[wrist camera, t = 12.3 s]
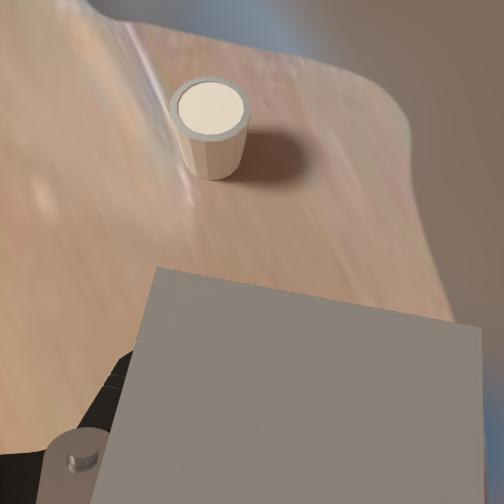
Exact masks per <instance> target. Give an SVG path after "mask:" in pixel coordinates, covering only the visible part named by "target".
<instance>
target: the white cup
mask: <svg viewBox="0 0 504 504" xmlns="http://www.w3.org/2000/svg"><path fill="white" fill-rule="evenodd" d="M250 116H251V106H250V100H249V98H248V96H247V95H246V93H245V92H244V90H243V89H242V88H241V87H239V86H238V85H236V84H235V83H233V82H232V81H230V80H227V79H223V78H220V77H216V76H215V77H199V78H196V79H194V80H191V81H188V82H186V83H185V84H183V85H182V86H181V87H180V88H179V89H178V90H176V91H175V93H174V95H173V97H172V99H171V102H170V118H171V121H172V124H173V127H174V130H175V134H176V137H177V140H178V143H179V146H180V150H181V153H182V156H183V159H184V162H185V164H186V166H187V168H188V169H189V171H191V172H192V173H193V174H194V175H196V176H197V177H200V178H203V179H206V180H220V179H223V178H225V177H227V176H230V175H231V174H232V173H233V172H234V171H235V170H236V169H237V168H238V167H239V164H240V161H241V159H242V154H243V149H244V145H245V140H246V135H247V131H248V126H249V121H250Z"/></svg>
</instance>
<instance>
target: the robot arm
mask: <svg viewBox="0 0 504 504" xmlns="http://www.w3.org/2000/svg"><path fill="white" fill-rule="evenodd" d="M132 354H133V351H131V352H130V353H128V354H127V355H125V356H124V357H122V358H121V359H119V361H118V362H117V364H116V366H115V367H114V369H113V370H112V372H111V375H109V377H108V378H107V380H106V382H105V383H104V386H103V387H102V388H101V390H100V391H99V393H98V395H97V396H96V398H95V399H94V401H93V403H92V404H91V406H90V407H89V409H88V411H87V412H86V414H85V416H84V417H83V419H82V420H81V422H80V424H79V425H78V427H77V428H76V429H73V430H70V431H67V432H65V433H63V434H61V435H60V436H58V437H57V438H55V439H54V440H53V441H52V442H51V443H50V444H49V446H48V447H47V449H46V450H42V451H38V452H31V453H18V454H3V455H0V504H90V502H91V498H92V495H93V491H94V488H95V484H96V481H97V477H98V474H99V470H100V467H101V463H102V460H103V456H104V452H105V449H106V445H107V442H108V438H109V435H110V431H111V428H112V424H113V421H114V417H115V414H116V410H117V407H118V403H119V399H120V396H121V392H122V389H123V385H124V382H125V378H126V375H127V371H128V368H129V364H130V361H131V357H132Z"/></svg>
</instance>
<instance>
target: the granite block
mask: <svg viewBox="0 0 504 504" xmlns="http://www.w3.org/2000/svg"><path fill="white" fill-rule="evenodd" d="M90 504H485V500H484V440H483V382H482V328H480V327H475V326H469V325H464V324H459V323H453V322H448V321H443V320H437V319H432V318H427V317H421V316H416V315H411V314H405V313H400V312H395V311H389V310H384V309H379V308H373V307H368V306H363V305H357V304H352V303H347V302H341V301H336V300H331V299H325V298H320V297H315V296H309V295H304V294H298V293H293V292H288V291H282V290H277V289H272V288H266V287H261V286H256V285H250V284H245V283H240V282H234V281H229V280H224V279H218V278H213V277H208V276H202V275H197V274H192V273H186V272H181V271H176V270H170V269H165V268H160V267H157V269H156V272H155V276H154V279H153V283H152V286H151V290H150V294H149V297H148V301H147V304H146V308H145V311H144V315H143V318H142V322H141V325H140V329H139V332H138V336H137V339H136V343H135V347H134V350H133V354H132V357H131V361H130V364H129V368H128V371H127V375H126V378H125V382H124V385H123V389H122V392H121V396H120V399H119V403H118V407H117V410H116V414H115V417H114V421H113V424H112V428H111V431H110V435H109V438H108V442H107V445H106V449H105V452H104V456H103V460H102V463H101V467H100V470H99V474H98V477H97V481H96V484H95V488H94V491H93V495H92V498H91V502H90Z"/></svg>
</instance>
